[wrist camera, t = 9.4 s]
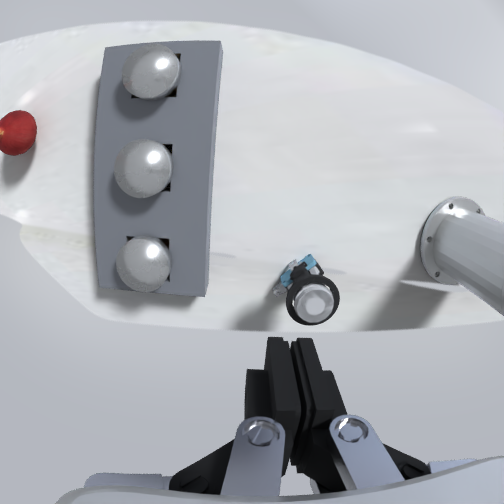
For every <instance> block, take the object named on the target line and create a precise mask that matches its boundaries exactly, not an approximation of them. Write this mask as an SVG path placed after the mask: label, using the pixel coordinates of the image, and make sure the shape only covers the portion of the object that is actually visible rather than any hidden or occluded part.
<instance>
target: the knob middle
mask: <svg viewBox="0 0 504 504" xmlns="http://www.w3.org/2000/svg"><path fill="white" fill-rule="evenodd" d="M173 173H174V161H173V157H172V154H171V153H170V151H169V150H168V149H167V148H166V147H165V146H164V145H163V144H161V143H159V142H157V141H154V140H147V139H139V140H135V141H132V142H130V143H128V144H127V145H125V146H124V147H123V148H122V149H121V151H120V152H119V154H118V156H117V158H116V161H115V165H114V174H115V178H116V181H117V183H118V185H119V187H120V188H121V189H122V190H123V191H124V192H125V193H126V194H128V195H130V196H132V197H135V198H147V197H150V196H153V195H155V194H157V193H159V192H161V191H162V190H163V189H165V188H166V187H167V185H168V184H169V183H170V181H171V179H172V176H173Z"/></svg>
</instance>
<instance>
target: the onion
mask: <svg viewBox="0 0 504 504" xmlns="http://www.w3.org/2000/svg"><path fill="white" fill-rule="evenodd" d="M36 134H37V126H36V122H35V119H34V117H33V116H32V115H31V114H30V113H28V112H26V111H21V110H18V111H13V112H10V113H8V114H7V115H6V116H4V117H3V118H2V119H1V120H0V150H1V151H2V152H3V153H5V154H8V155H13V156H16V155H19V154H23V153H25V152H26V151H27V150H28V149H29V148H30V147H31V146H32V145H33V143H34V141H35V138H36Z"/></svg>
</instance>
